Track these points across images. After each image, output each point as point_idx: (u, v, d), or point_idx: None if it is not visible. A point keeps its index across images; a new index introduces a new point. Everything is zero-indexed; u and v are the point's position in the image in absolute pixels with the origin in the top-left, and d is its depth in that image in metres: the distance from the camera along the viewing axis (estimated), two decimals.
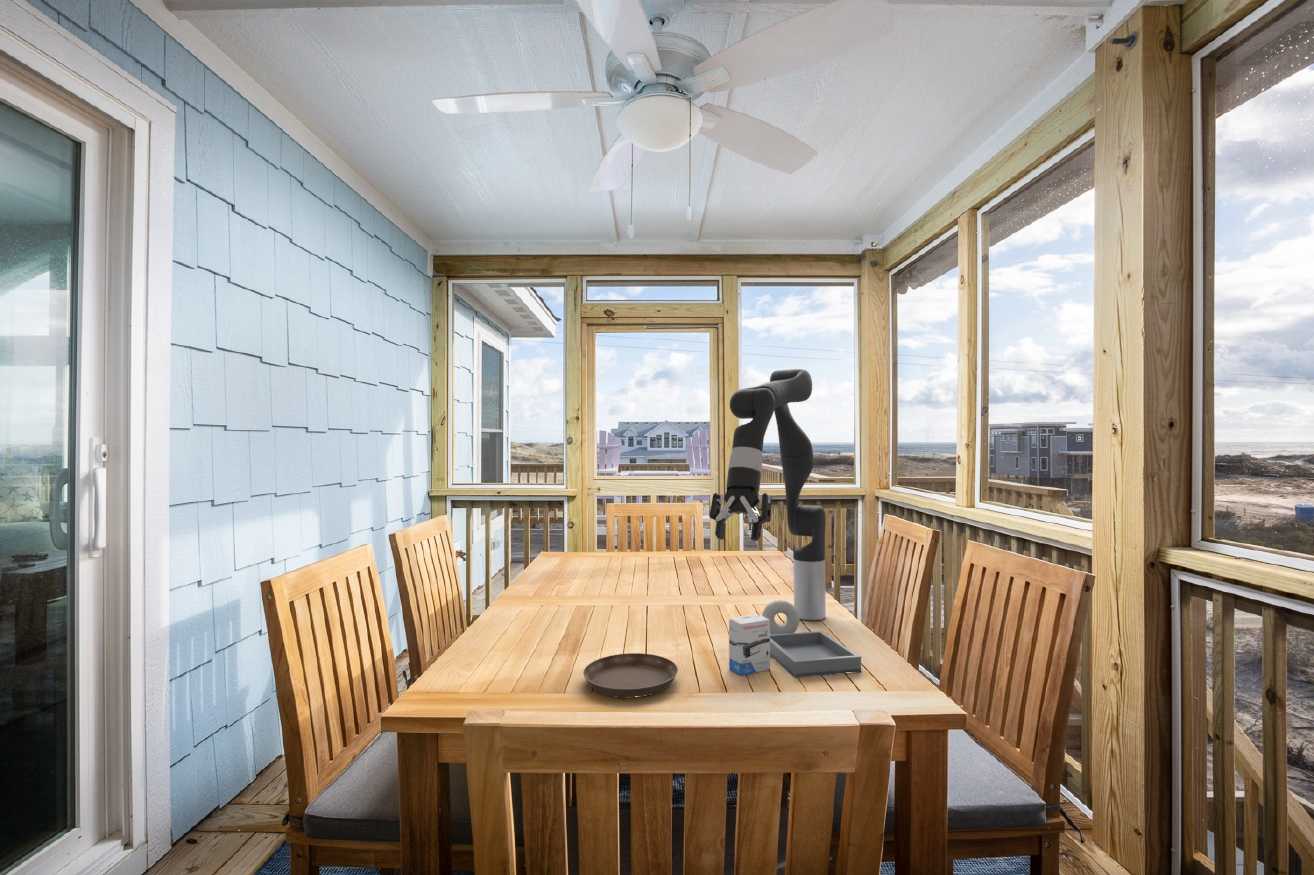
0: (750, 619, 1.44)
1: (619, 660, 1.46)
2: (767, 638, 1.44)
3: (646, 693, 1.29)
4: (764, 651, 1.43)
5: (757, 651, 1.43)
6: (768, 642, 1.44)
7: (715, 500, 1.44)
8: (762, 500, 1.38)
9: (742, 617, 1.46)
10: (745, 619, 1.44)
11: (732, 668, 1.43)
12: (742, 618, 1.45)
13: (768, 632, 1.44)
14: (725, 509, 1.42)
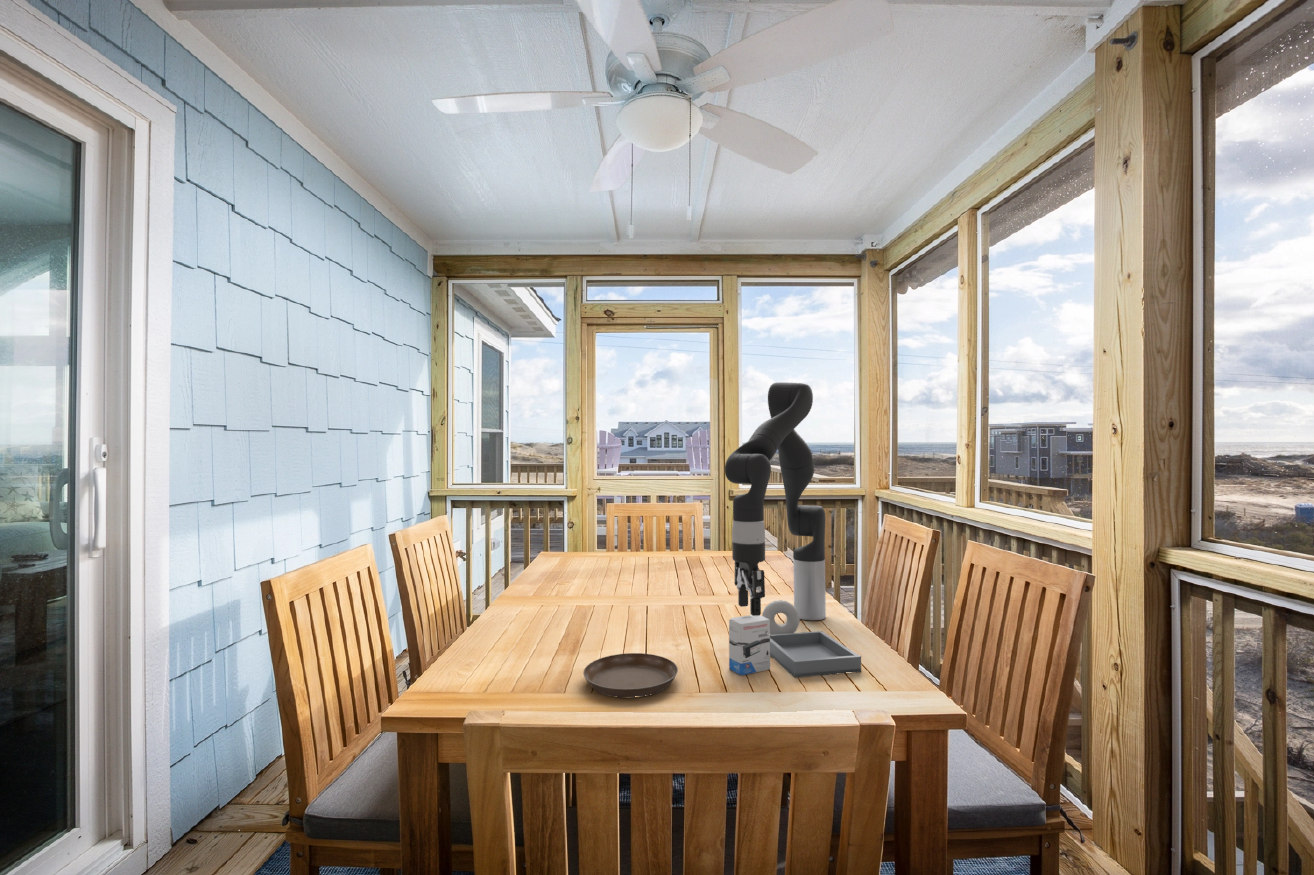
0: (750, 619, 1.44)
1: (619, 660, 1.46)
2: (767, 638, 1.44)
3: (646, 693, 1.29)
4: (764, 651, 1.43)
5: (757, 651, 1.43)
6: (768, 642, 1.44)
7: (735, 568, 1.50)
8: (752, 577, 1.39)
9: (742, 617, 1.46)
10: (745, 619, 1.44)
11: (732, 668, 1.43)
12: (742, 618, 1.45)
13: (768, 632, 1.44)
14: (738, 580, 1.47)
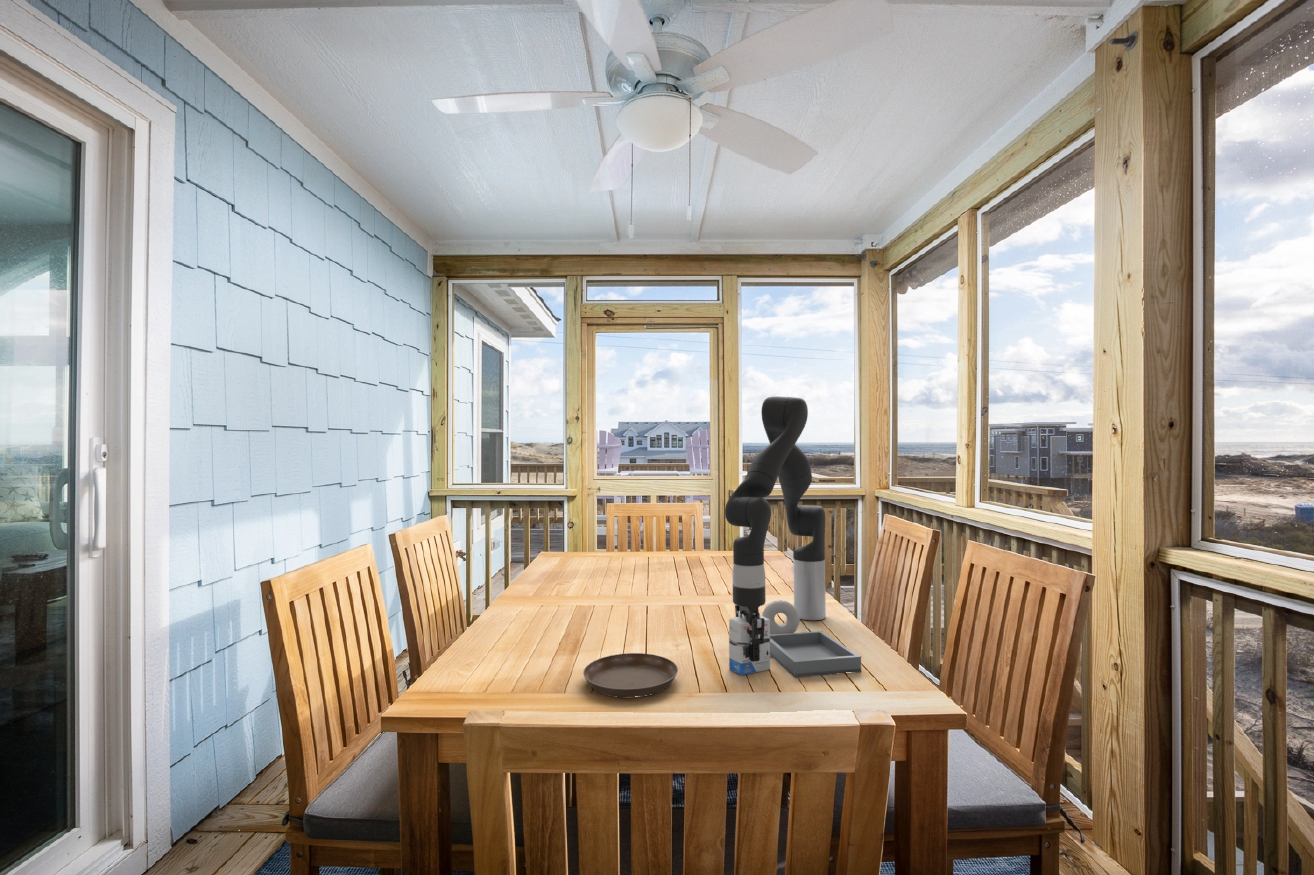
0: None
1: (619, 660, 1.46)
2: (767, 638, 1.44)
3: (646, 693, 1.29)
4: (764, 651, 1.43)
5: None
6: (768, 642, 1.44)
7: (736, 612, 1.50)
8: (752, 624, 1.39)
9: None
10: None
11: (732, 668, 1.43)
12: None
13: (768, 632, 1.44)
14: None
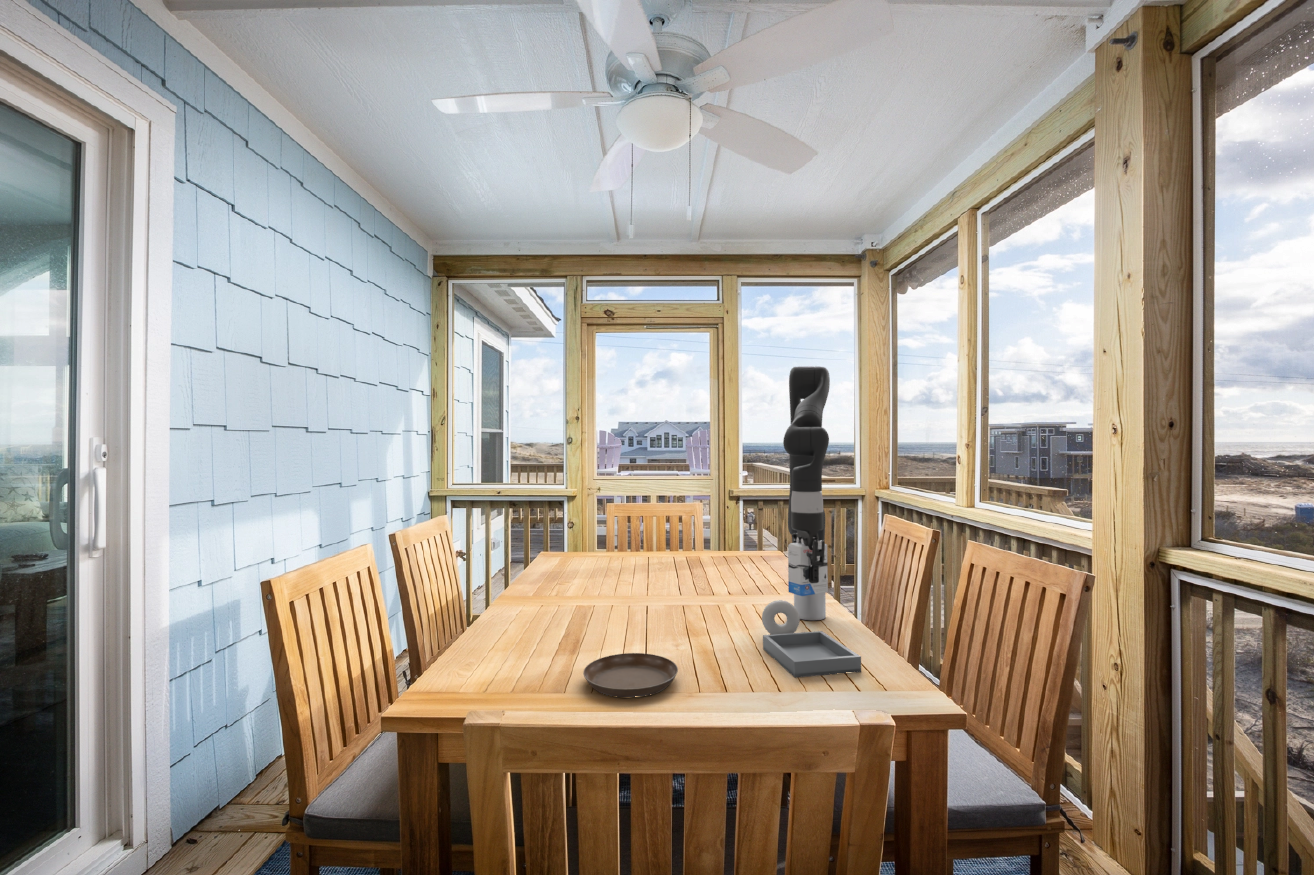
0: None
1: (619, 660, 1.46)
2: (825, 562, 1.50)
3: (646, 693, 1.29)
4: (822, 574, 1.50)
5: None
6: (826, 566, 1.50)
7: (793, 540, 1.56)
8: (812, 547, 1.45)
9: (800, 543, 1.52)
10: None
11: (792, 590, 1.49)
12: None
13: (826, 556, 1.50)
14: None
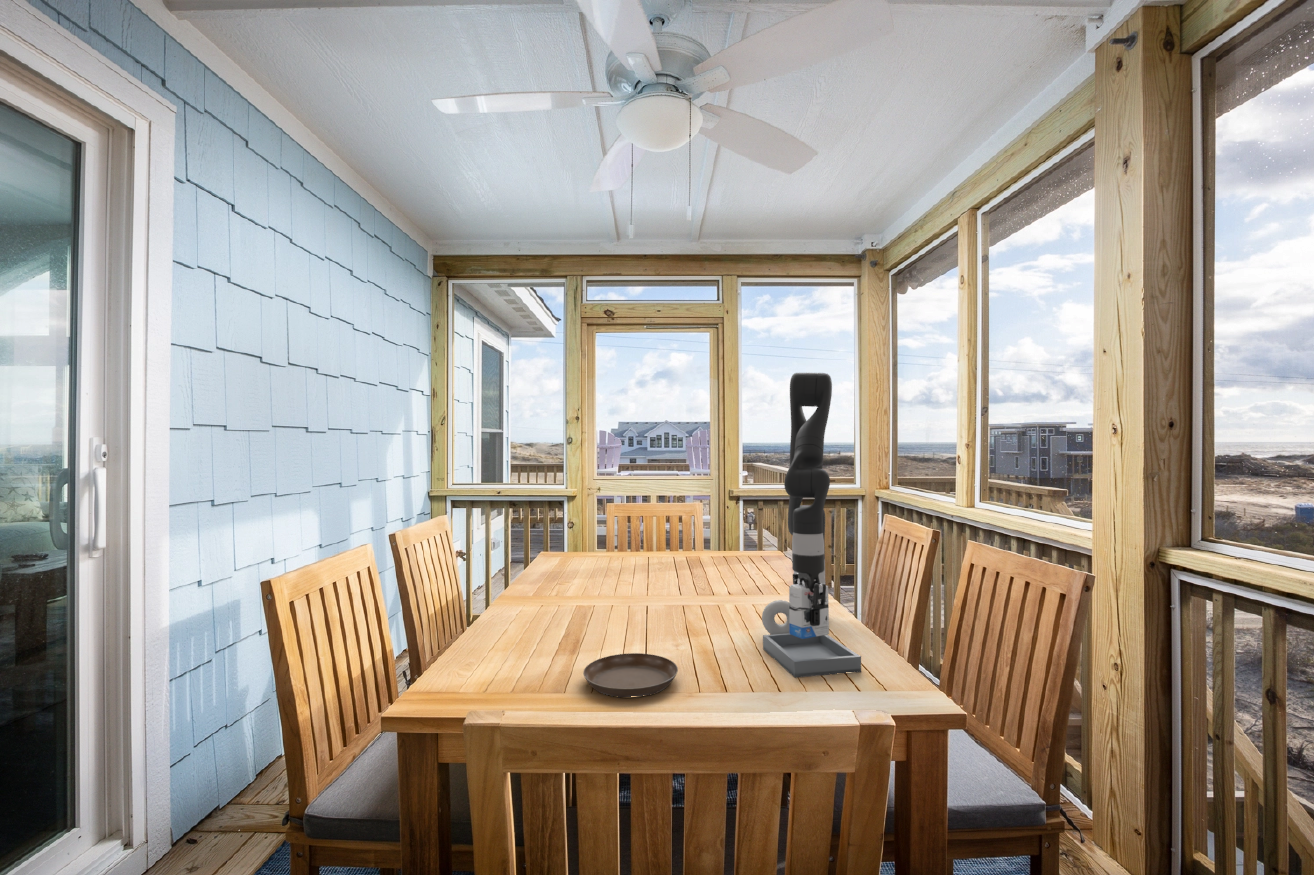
0: None
1: (619, 660, 1.46)
2: (826, 604, 1.50)
3: (646, 693, 1.29)
4: (824, 616, 1.49)
5: None
6: (827, 608, 1.50)
7: (794, 580, 1.56)
8: (814, 590, 1.45)
9: None
10: None
11: (793, 633, 1.49)
12: (802, 585, 1.51)
13: (827, 598, 1.50)
14: None
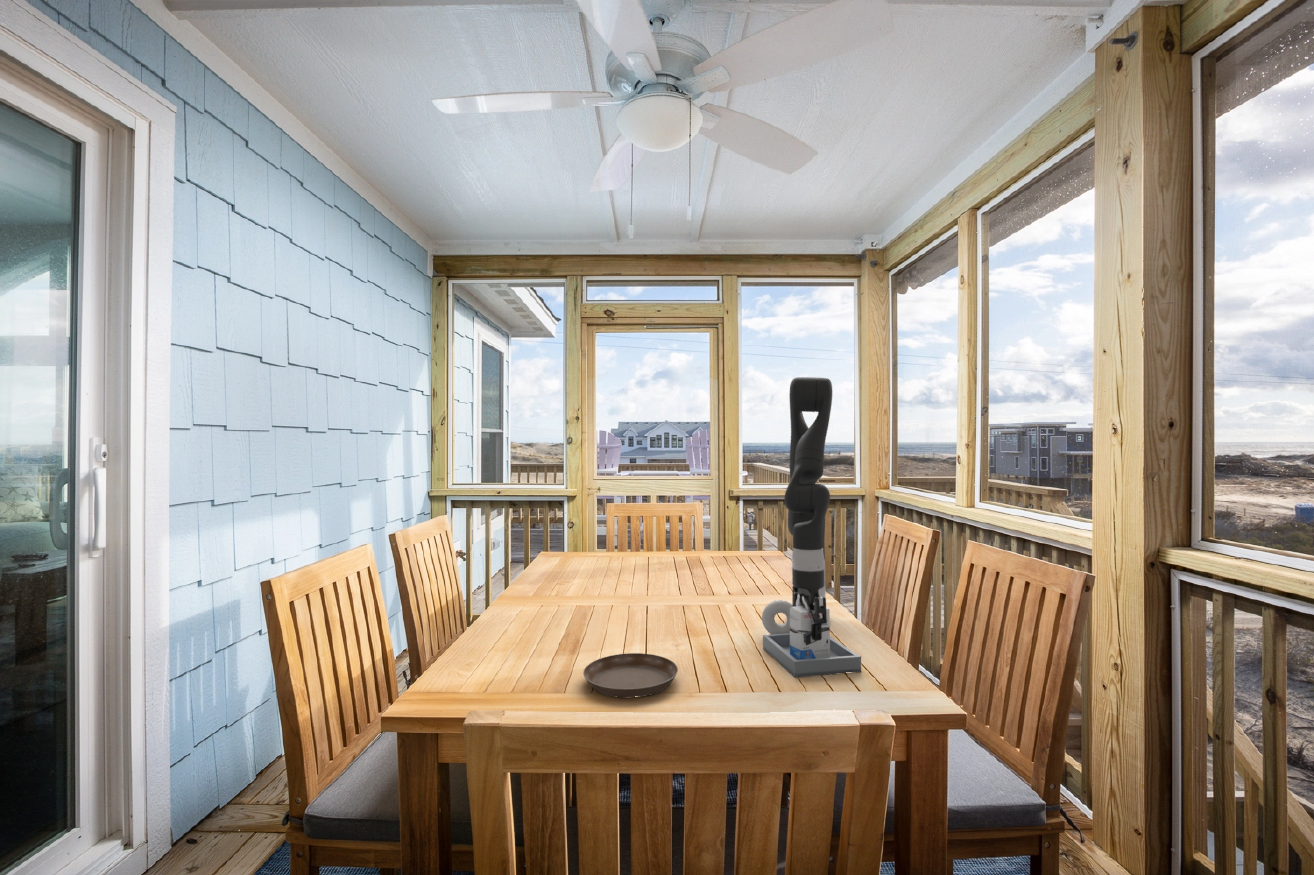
0: None
1: (619, 660, 1.46)
2: (827, 627, 1.49)
3: (646, 693, 1.29)
4: (824, 639, 1.49)
5: None
6: (828, 631, 1.49)
7: (793, 593, 1.56)
8: (814, 604, 1.45)
9: (802, 606, 1.51)
10: (805, 608, 1.50)
11: (793, 655, 1.49)
12: (802, 607, 1.51)
13: (828, 621, 1.49)
14: (797, 605, 1.53)
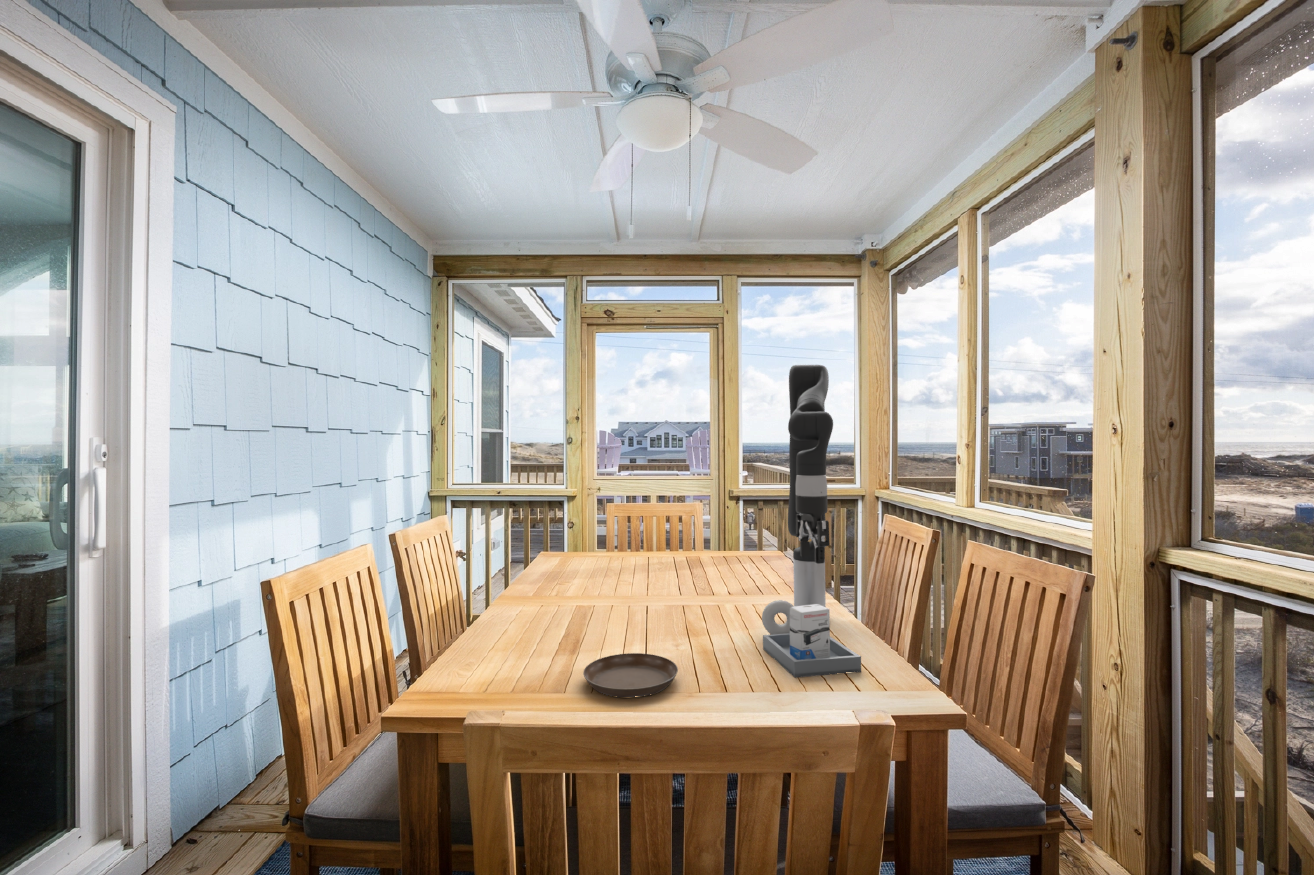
0: (810, 608, 1.50)
1: (619, 660, 1.46)
2: (827, 627, 1.49)
3: (646, 693, 1.29)
4: (824, 639, 1.49)
5: (817, 639, 1.48)
6: (828, 631, 1.49)
7: (797, 521, 1.59)
8: (817, 527, 1.47)
9: (802, 606, 1.51)
10: (805, 608, 1.50)
11: (793, 655, 1.49)
12: (802, 607, 1.51)
13: (828, 621, 1.49)
14: (800, 531, 1.56)
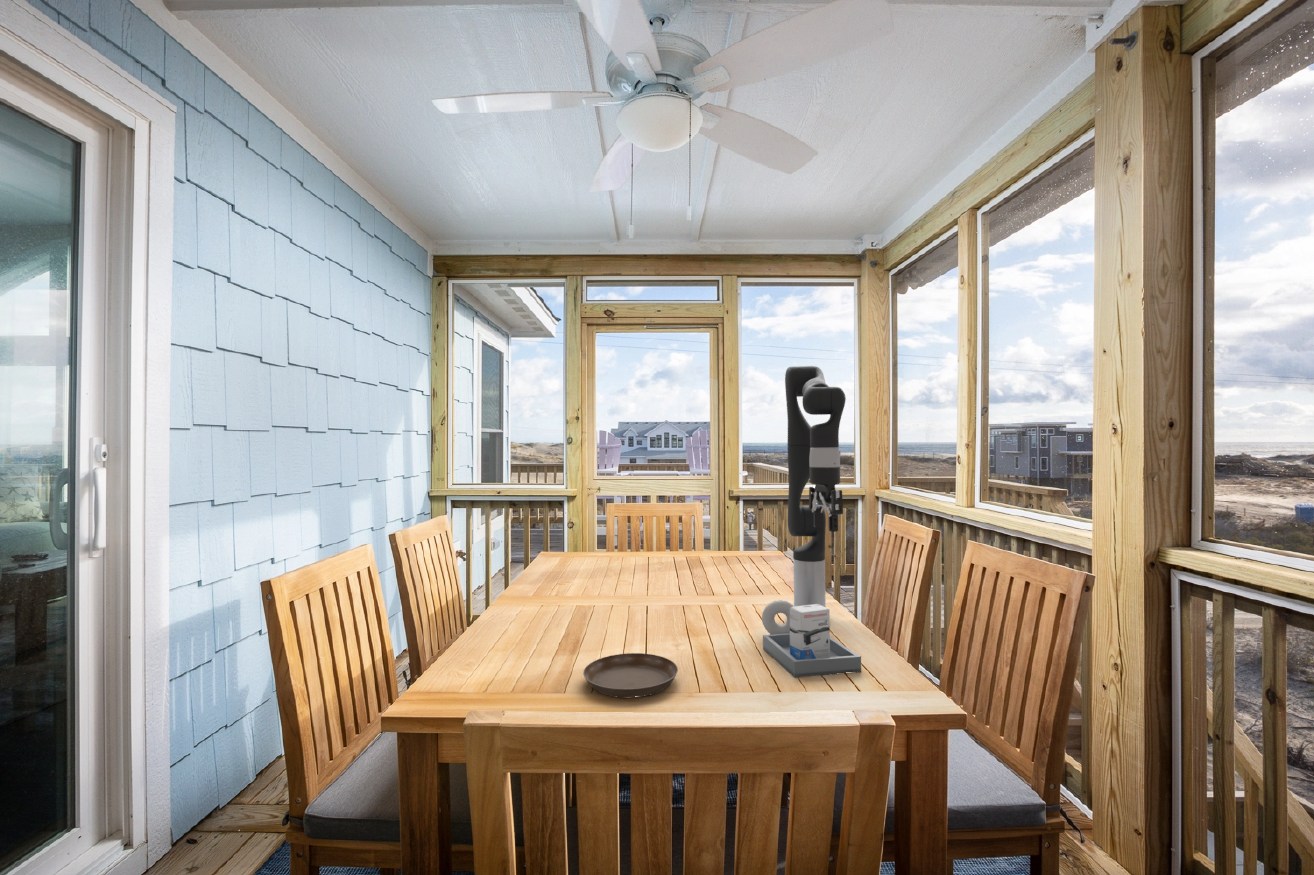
0: (810, 608, 1.50)
1: (619, 660, 1.46)
2: (827, 627, 1.49)
3: (646, 693, 1.29)
4: (824, 639, 1.49)
5: (817, 639, 1.48)
6: (828, 631, 1.49)
7: (810, 493, 1.65)
8: (831, 496, 1.53)
9: (802, 606, 1.51)
10: (805, 608, 1.50)
11: (793, 655, 1.49)
12: (802, 607, 1.51)
13: (828, 621, 1.50)
14: (814, 503, 1.62)
